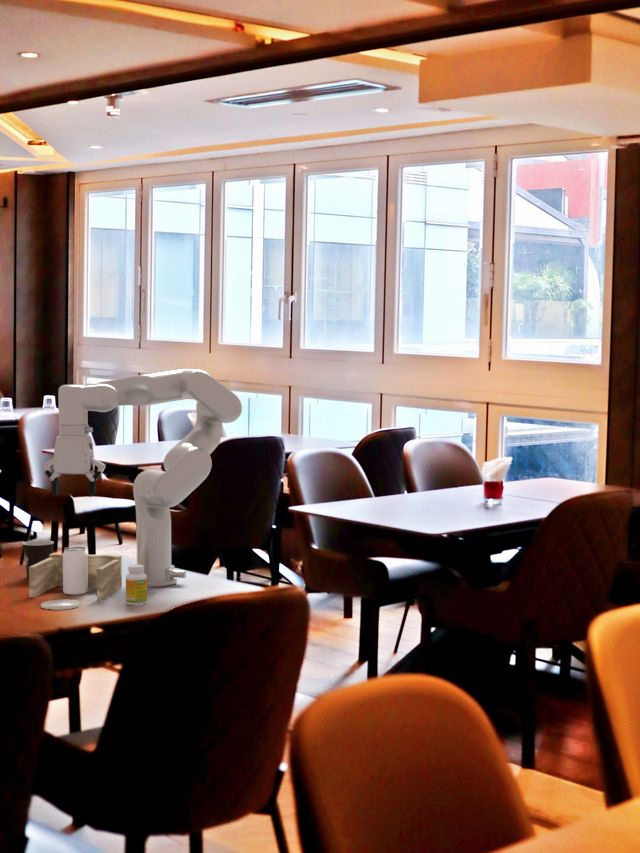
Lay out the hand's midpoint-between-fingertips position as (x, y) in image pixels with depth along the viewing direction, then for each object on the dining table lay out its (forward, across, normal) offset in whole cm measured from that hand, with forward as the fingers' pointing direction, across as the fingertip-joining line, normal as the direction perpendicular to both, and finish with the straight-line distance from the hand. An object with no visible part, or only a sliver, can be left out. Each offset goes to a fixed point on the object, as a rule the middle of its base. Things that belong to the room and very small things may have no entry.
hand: (73, 495), depth 322 cm
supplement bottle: (+26, -20, +10) cm, 35 cm away
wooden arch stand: (+26, 0, 0) cm, 26 cm away
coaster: (+26, -2, +16) cm, 31 cm away
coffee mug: (+26, +18, -20) cm, 38 cm away
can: (+26, 0, 0) cm, 26 cm away
